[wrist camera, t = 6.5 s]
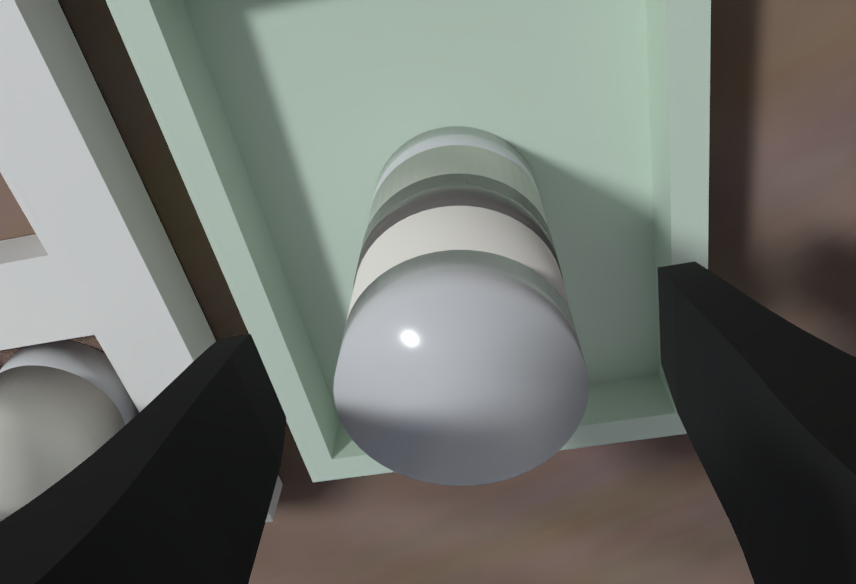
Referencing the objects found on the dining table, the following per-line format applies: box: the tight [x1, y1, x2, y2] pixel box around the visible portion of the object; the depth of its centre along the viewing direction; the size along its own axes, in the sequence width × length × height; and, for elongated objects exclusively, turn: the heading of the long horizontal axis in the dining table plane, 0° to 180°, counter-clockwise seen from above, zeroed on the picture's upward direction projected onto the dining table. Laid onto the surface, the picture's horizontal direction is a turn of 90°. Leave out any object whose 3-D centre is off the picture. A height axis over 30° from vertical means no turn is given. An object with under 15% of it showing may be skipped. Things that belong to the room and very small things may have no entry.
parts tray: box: [106, 0, 711, 482], centre depth 16 cm, size 14×11×2 cm
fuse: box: [0, 340, 140, 521], centre depth 18 cm, size 4×4×7 cm
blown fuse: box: [333, 126, 589, 486], centre depth 14 cm, size 4×4×7 cm
